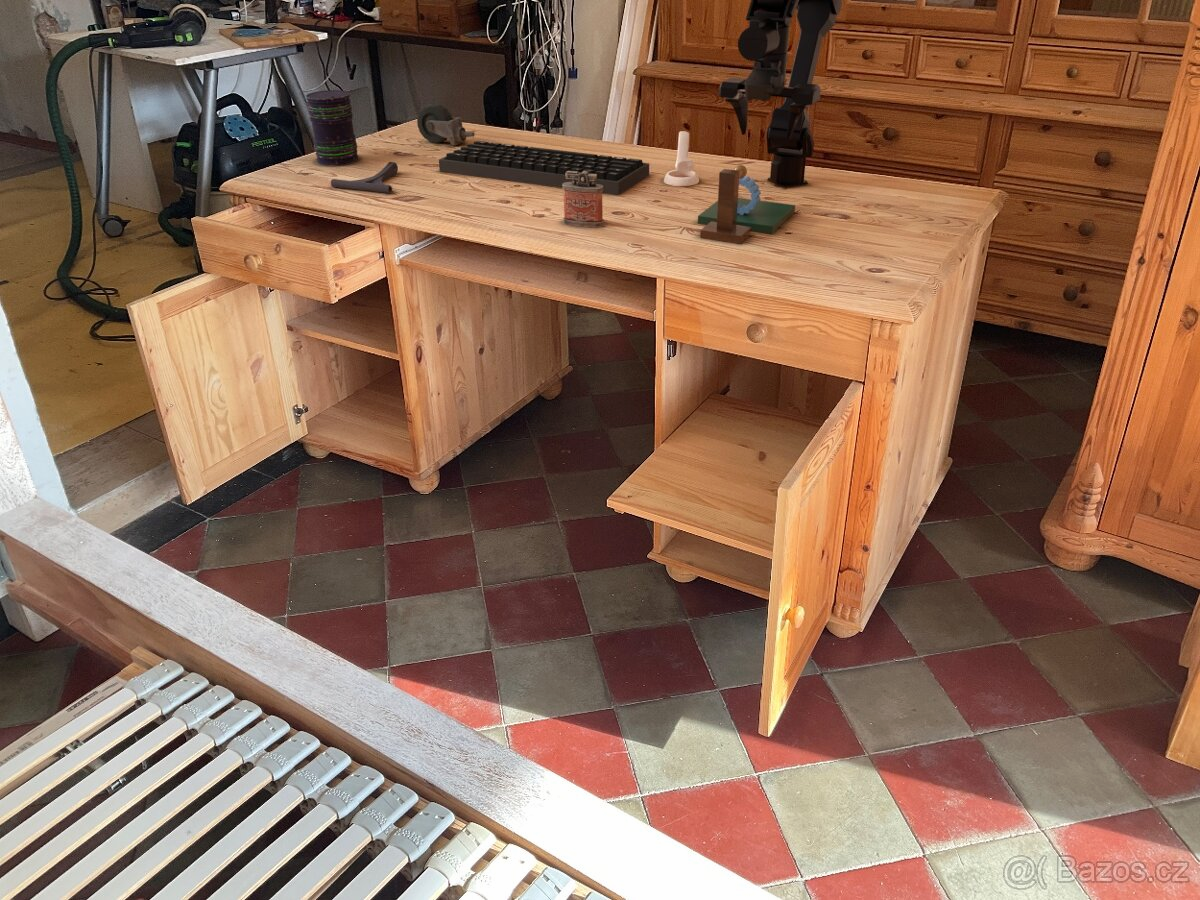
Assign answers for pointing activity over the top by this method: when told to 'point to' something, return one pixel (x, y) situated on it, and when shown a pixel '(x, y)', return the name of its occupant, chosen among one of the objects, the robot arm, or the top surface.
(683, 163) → the white piece
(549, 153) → the computer keyboard
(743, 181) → the blue fluted ring
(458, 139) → the caster wheel
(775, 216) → the cutting board
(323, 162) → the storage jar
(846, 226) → the top surface
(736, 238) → the peg stand
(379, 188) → the dark grey branched pipe
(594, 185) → the lighter
